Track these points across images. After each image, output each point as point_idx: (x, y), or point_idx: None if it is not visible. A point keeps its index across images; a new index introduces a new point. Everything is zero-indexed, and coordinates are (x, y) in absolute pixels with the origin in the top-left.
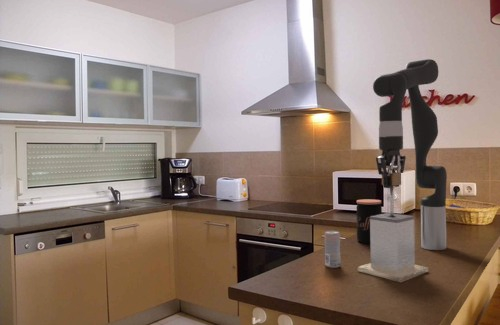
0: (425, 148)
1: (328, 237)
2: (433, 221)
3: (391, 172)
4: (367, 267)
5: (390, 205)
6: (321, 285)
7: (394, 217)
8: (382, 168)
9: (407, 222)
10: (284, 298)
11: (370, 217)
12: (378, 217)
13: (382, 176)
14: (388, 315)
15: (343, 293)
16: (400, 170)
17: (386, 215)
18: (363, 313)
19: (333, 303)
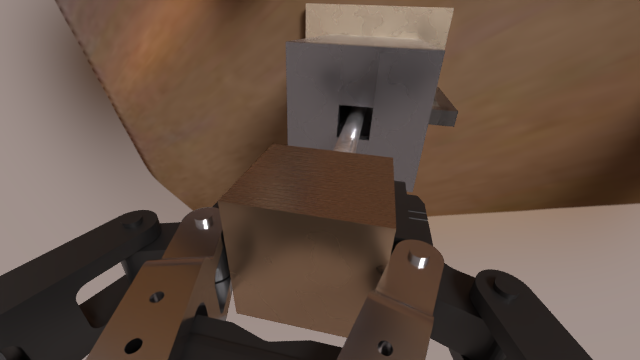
0: None
1: None
2: None
3: (348, 267)
4: (319, 30)
5: (338, 138)
6: (164, 12)
7: (332, 145)
8: (153, 266)
9: None
10: (66, 11)
11: (287, 44)
12: (287, 92)
13: (239, 188)
14: (174, 180)
15: (174, 81)
16: (456, 349)
17: (359, 92)
18: (150, 153)
19: (133, 98)
